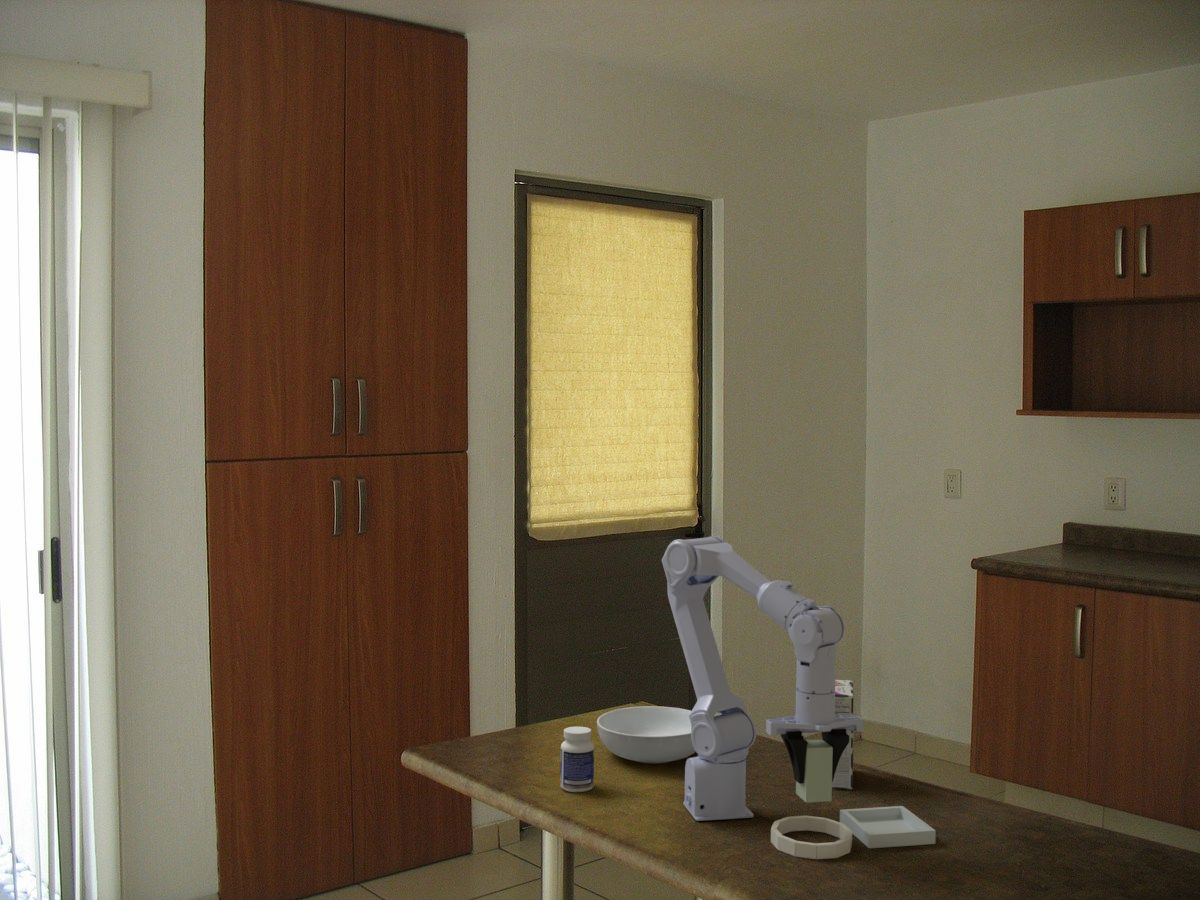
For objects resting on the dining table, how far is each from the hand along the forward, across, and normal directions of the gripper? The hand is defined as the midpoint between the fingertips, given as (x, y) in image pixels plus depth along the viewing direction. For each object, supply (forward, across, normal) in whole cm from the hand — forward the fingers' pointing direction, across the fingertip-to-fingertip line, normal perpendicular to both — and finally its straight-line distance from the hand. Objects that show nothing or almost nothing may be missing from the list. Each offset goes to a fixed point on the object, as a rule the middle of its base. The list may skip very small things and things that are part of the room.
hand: (813, 780), depth 166 cm
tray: (+9, +13, +2) cm, 16 cm away
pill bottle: (+10, -30, +30) cm, 44 cm away
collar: (+9, 0, 0) cm, 9 cm away
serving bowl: (+10, -13, +45) cm, 48 cm away
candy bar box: (+10, +16, +27) cm, 33 cm away
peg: (+2, 0, 0) cm, 2 cm away
